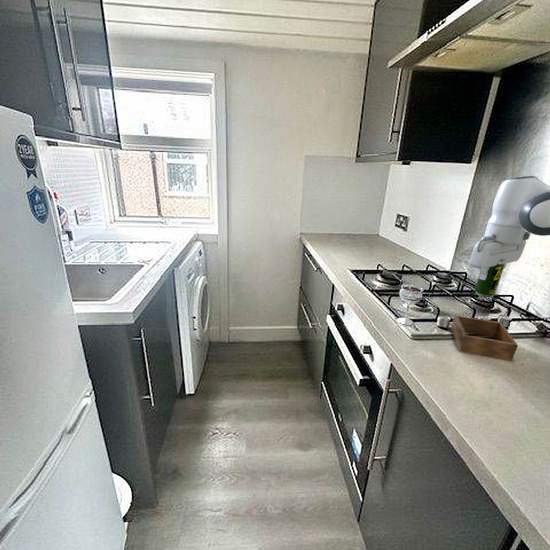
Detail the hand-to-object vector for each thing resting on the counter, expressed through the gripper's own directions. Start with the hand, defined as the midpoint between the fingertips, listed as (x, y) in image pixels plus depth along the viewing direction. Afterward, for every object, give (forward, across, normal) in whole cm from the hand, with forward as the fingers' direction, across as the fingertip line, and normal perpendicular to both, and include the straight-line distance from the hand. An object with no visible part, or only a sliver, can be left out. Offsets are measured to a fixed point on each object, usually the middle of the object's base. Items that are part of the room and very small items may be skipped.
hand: (489, 277), depth 93 cm
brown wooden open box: (+16, -10, -8) cm, 21 cm away
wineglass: (+17, -20, +11) cm, 28 cm away
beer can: (+6, 0, 0) cm, 6 cm away
